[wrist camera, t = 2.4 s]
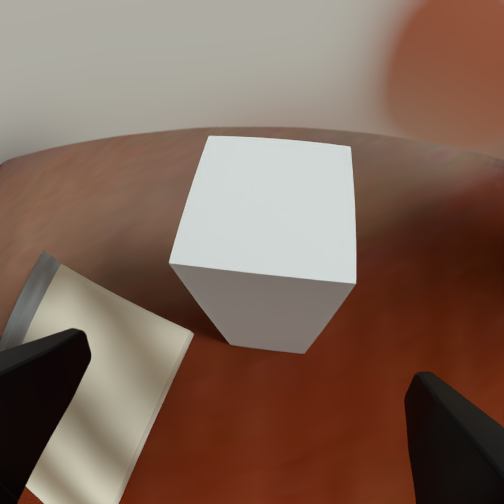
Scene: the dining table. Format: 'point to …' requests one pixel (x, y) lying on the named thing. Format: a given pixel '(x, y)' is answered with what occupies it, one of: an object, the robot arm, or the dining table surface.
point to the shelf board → (97, 381)
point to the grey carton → (269, 239)
